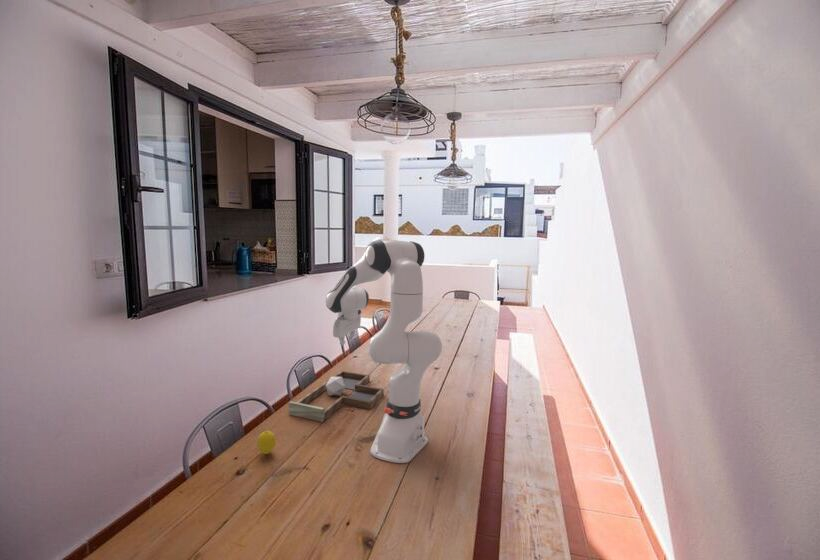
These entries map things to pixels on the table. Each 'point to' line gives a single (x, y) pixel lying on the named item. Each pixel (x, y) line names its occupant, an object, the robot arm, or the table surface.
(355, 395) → the side trap mat
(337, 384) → the die
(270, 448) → the lemon
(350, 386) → the end trap mat
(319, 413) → the box
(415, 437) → the robot arm
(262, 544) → the table surface
